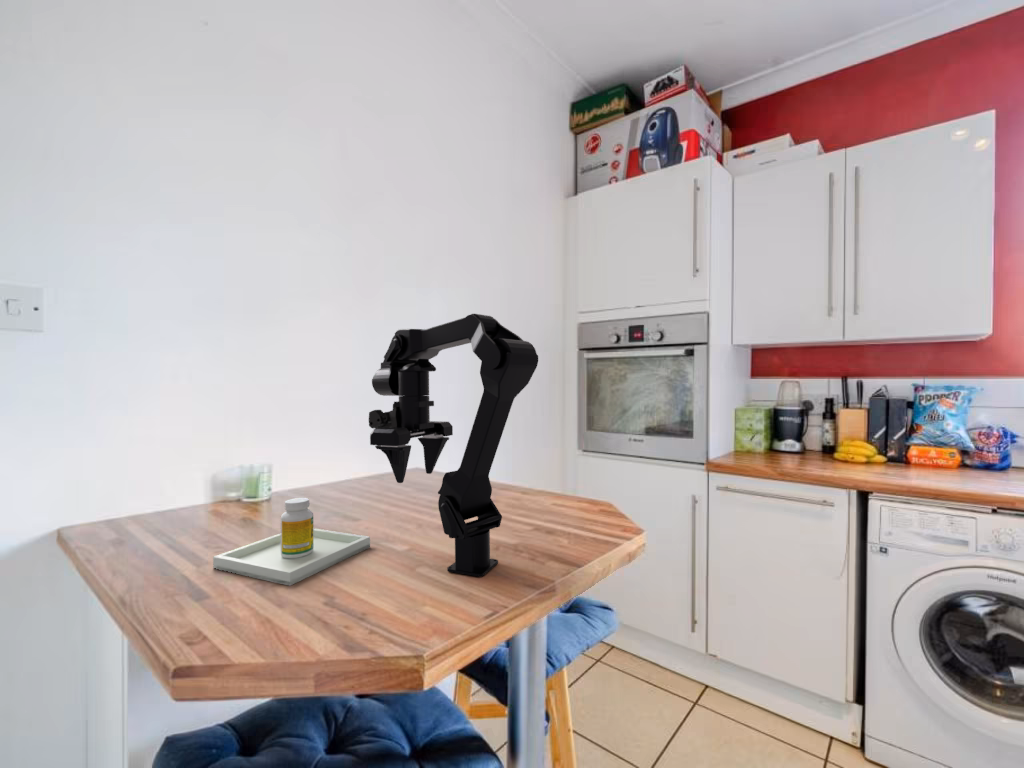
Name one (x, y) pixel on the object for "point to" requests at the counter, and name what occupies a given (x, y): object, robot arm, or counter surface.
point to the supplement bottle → (296, 529)
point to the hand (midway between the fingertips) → (415, 477)
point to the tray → (271, 566)
